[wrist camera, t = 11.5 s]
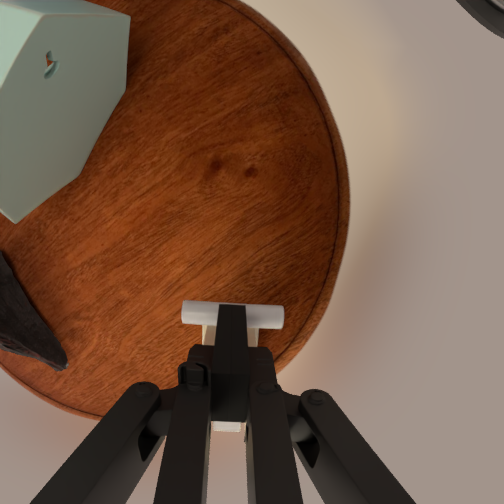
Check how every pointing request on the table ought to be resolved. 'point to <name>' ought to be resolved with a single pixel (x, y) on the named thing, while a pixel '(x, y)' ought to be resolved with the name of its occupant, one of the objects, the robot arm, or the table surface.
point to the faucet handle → (255, 319)
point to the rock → (25, 325)
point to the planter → (54, 93)
